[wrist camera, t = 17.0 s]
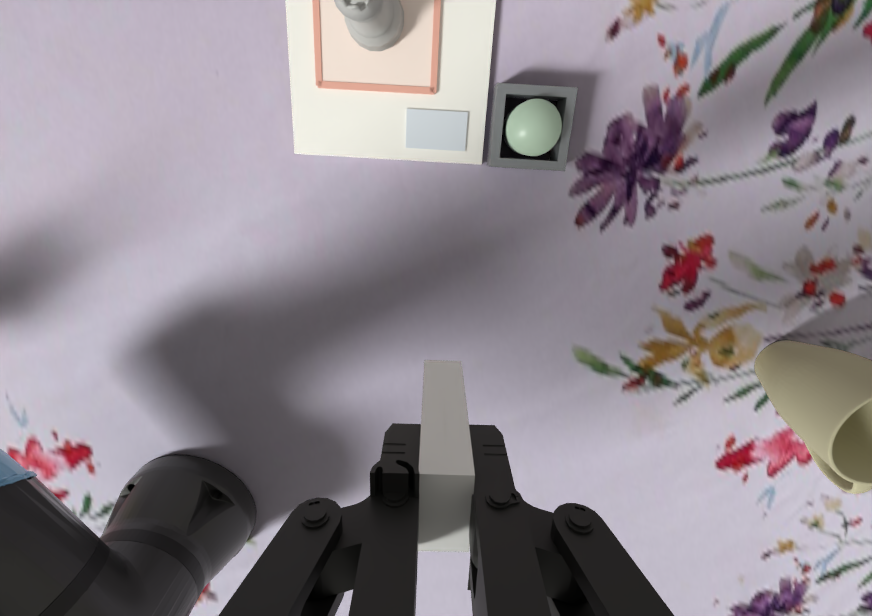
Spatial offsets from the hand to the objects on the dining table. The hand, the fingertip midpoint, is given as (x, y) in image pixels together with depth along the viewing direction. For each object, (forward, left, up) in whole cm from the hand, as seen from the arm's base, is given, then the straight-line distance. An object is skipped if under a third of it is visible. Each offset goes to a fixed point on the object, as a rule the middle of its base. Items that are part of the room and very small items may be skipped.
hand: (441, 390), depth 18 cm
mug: (+34, -10, -24) cm, 43 cm away
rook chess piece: (-7, +18, -24) cm, 30 cm away
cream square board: (-6, +16, -24) cm, 29 cm away
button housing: (+6, +11, -24) cm, 27 cm away
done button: (+6, +11, -24) cm, 27 cm away
